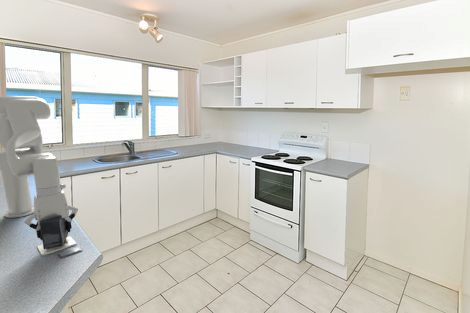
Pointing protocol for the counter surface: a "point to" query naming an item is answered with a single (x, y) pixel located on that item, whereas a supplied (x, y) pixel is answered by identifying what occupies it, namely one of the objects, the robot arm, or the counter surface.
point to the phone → (69, 252)
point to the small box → (53, 232)
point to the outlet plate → (68, 243)
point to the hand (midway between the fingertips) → (55, 234)
